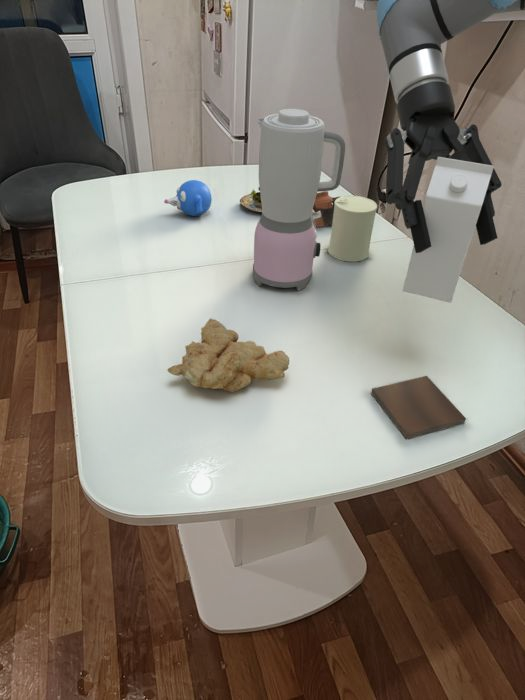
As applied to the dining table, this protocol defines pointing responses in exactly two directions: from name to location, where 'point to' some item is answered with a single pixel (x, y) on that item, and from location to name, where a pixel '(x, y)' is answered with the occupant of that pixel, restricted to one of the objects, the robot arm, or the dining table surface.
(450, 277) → the milk carton
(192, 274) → the dining table surface
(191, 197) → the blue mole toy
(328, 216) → the pottery mug
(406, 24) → the robot arm
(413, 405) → the coaster board
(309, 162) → the blender
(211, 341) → the ginger root
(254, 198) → the plate of food
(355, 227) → the can
